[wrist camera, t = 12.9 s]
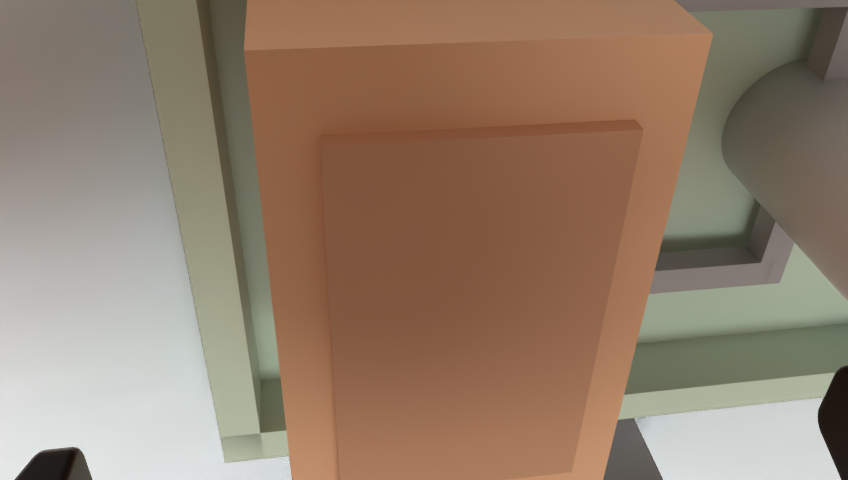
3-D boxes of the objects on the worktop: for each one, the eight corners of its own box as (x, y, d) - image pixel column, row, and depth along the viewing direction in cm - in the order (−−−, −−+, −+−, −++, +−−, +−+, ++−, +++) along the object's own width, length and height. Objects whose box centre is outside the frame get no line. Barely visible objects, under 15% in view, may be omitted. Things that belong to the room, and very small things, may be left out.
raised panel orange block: (795, 278, 18) (962, 475, 14) (290, 320, 17) (298, 558, 12) (935, -90, 14) (1254, 31, 9) (252, -81, 12) (242, 71, 8)
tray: (1143, -243, 13) (1259, -230, 11) (873, 332, 20) (921, 386, 19) (114, -253, 11) (89, -238, 9) (228, 395, 18) (225, 462, 17)
